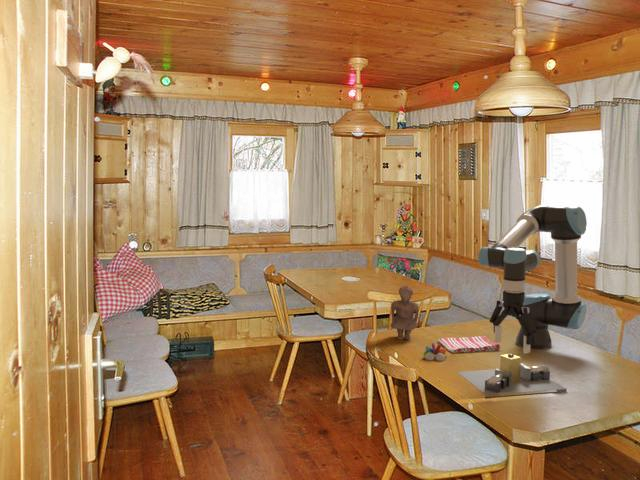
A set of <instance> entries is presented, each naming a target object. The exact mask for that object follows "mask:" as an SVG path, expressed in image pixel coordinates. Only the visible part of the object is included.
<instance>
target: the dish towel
mask: <svg viewBox="0 0 640 480" xmlns="http://www.w3.org/2000/svg"><path fill="white" fill-rule="evenodd" d="M437 342H438V344H441V346H442V347H444V348H445V349H446V351H449V352H450V353H452V354H458V353H459V352H464V353H476V352H475V351H479V352H494V351H498V352H499V351H500V349H501V344H500V343H494V342H492V341H491V340H489V339H488V338H487V336H485V335H481V336H480V335H479V336H471V337H443V338H441V337H440V338H438V339H437ZM459 354H460V353H459Z"/></svg>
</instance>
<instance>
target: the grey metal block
mask: <svg viewBox="0 0 640 480" xmlns="http://www.w3.org/2000/svg"><path fill="white" fill-rule="evenodd" d="M550 376H551V371H550V367H549V366H548V365H538V366H537V365H536V366H528V365H526V364H525V363H522V362H521V366H520V378H521V379H523V380H524V381H526V382H530V380H532V381H539V378H541V379H542V380H550V379H551V377H550Z"/></svg>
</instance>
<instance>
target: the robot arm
mask: <svg viewBox="0 0 640 480" xmlns="http://www.w3.org/2000/svg"><path fill="white" fill-rule="evenodd" d="M587 224H588V223H587V216H586V213H585V211H584V210H583V208H582V207H580V206H575V205H567V204H566V205H565V204H564V205H563V204H562V205H561V204H560V205H558V204H557V205H556V204H541V205H537V206H535V207H533V208H530V209H528V210H527V211H525V212H523V213H522V214H521V215H519V217H518V218H517V219H516V223H515V224H514V225H512V226H511V227H510V229H508V230H507V232H505V233H504V234H503V235H502V236H501V237H500V238H499V239H498V240H497V241H496V242H495V243H494V244H493V245H492V246H491V247H489V246H483V247H481V248H480V249H479V251H478V254H477V258H478V259H477V260H478V263H479V265H480V266H484V267H489V268H496V269H499V268H500V269H503V278H502V279H503V281H502V289H503V291H502V299H499V300H496V305H495V308H494V310H493V312H492V314H491V316H490V318H489V322H490V323H492V325H493V333H494V342H493V343H498V344H500V343H501V342H502V331H503V330H502V327H503V325H502V323H503V321H504V320H505V319H506V318H507V317H509V316H510V317H512V318H515V319H516V320H517V321H518V323H519V325H520V327H519V330H518V333H517V334H516V338H515V343H516V344H517V346H519V347H522V348H523V349H522V351H523V352H522V354H529V353H531V349H532V350H546V349H550V348H551V347H552V337H551V334H550V331H549V326H552V327H553V326H554V327H558V328H564V329H571V330H579V329H580V328H581V327H582V325H583V324H584V322H585V319H586V316H587V309H588V308H587V305H586V304H585V303H584V302H582V297H581V296H580V295H579V294H578V241H579V240H580V239H581V238H582V235H584V234H585V232H586V230H587ZM539 232H540V233H543V232H544V233H550V239H552V240H553V241H554V264H555V265H554V267H555V270H554V274H555V277H554V278H555V293H554V294H553V295H552V297H551V296H550V294H549V293H531V294H526V293H525V290H526V272H530V271H534V270H535V269H536V268H538V267H539V266H540V265H541V262H542V260H541V255H540V253H539V252H537V251H536V250H533V249H526V250H525V249H524V248H522V247H521V248H520V246H521V245H522V244H523V243H524V242H525V241H526V240H527V239H528V238H529V237H531V236H533V235H536V234H537V233H539Z"/></svg>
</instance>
